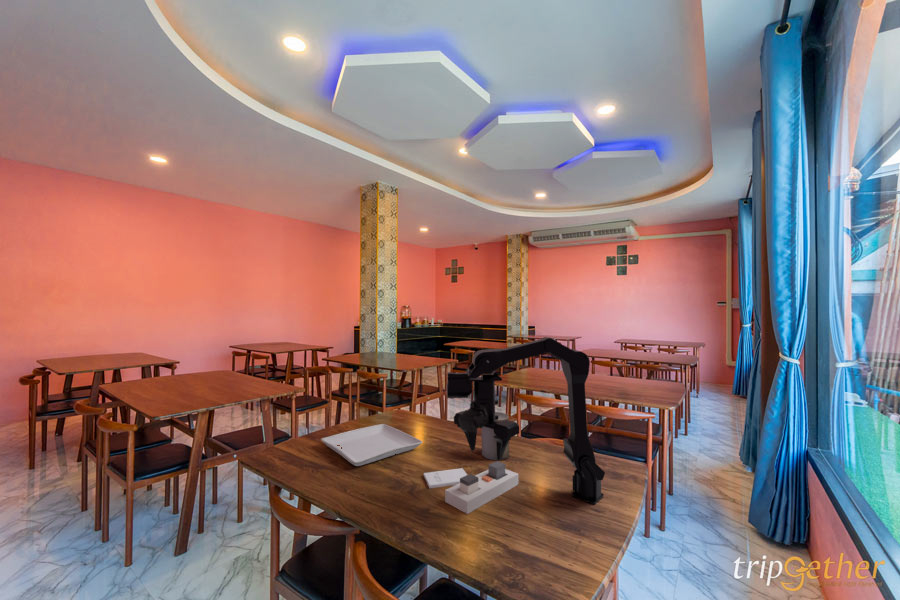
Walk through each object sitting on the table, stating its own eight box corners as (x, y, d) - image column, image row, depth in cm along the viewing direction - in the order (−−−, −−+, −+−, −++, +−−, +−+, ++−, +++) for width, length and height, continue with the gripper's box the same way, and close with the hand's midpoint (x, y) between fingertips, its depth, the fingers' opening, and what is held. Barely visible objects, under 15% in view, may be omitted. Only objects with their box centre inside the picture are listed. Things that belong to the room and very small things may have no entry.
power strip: (518, 484, 104) (518, 471, 105) (467, 514, 89) (467, 499, 89) (496, 475, 110) (496, 463, 110) (444, 501, 95) (445, 487, 95)
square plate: (319, 448, 132) (319, 437, 132) (383, 431, 150) (383, 422, 150) (354, 473, 112) (354, 460, 112) (423, 450, 130) (423, 440, 130)
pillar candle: (510, 451, 129) (510, 409, 130) (508, 462, 120) (507, 416, 120) (483, 448, 131) (483, 407, 132) (479, 459, 122) (478, 414, 123)
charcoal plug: (505, 484, 104) (505, 464, 104) (496, 489, 101) (496, 468, 101) (497, 481, 106) (497, 460, 106) (488, 486, 103) (488, 464, 104)
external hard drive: (470, 484, 105) (429, 490, 102) (462, 472, 113) (423, 477, 110) (470, 479, 105) (429, 484, 102) (462, 467, 113) (423, 472, 110)
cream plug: (478, 500, 96) (478, 477, 96) (468, 505, 93) (468, 482, 93) (470, 496, 98) (470, 473, 98) (459, 501, 95) (459, 478, 95)
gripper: (439, 397, 98) (440, 454, 98) (493, 409, 85) (494, 476, 85) (466, 390, 106) (467, 443, 106) (519, 400, 93) (521, 461, 93)
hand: (485, 455), depth 97 cm, fingers open, 9 cm apart
